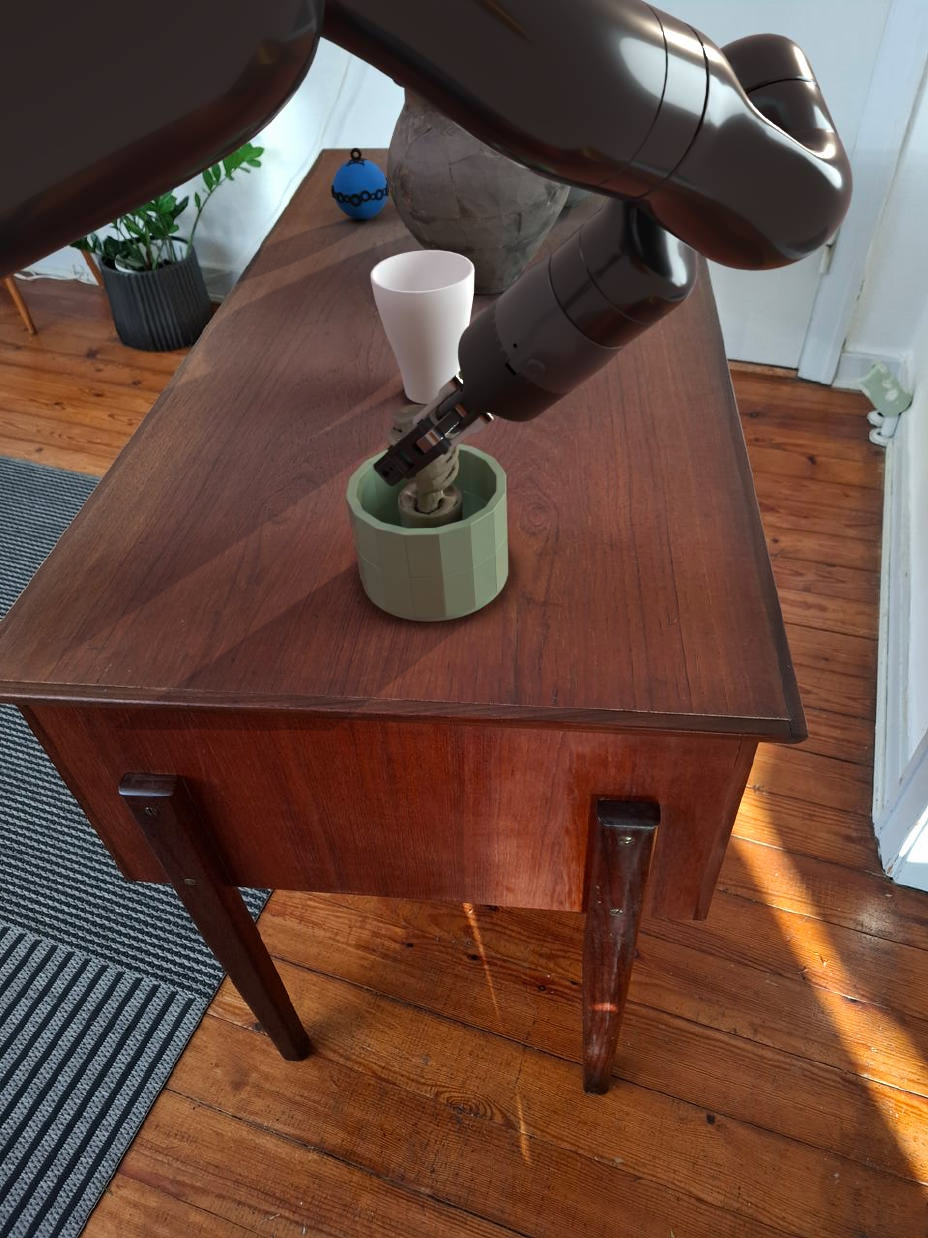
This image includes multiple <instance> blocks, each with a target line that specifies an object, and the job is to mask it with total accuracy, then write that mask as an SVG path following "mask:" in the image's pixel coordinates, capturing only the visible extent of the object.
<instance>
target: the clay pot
mask: <svg viewBox="0 0 928 1238" xmlns="http://www.w3.org/2000/svg"><path fill="white" fill-rule="evenodd" d="M392 81H393V83H394V84H395V85H396V86H398V87H400V88H403V94H404V96H403V97H404V102H403V106H402V109H401V110H400V113H399V115H398V118H397V120H396V123H395V126H394V128H393V132H392V136H391V138H390V142H389V147H388V150H387V158H386V159H387V160H386V178H387V181H388V185H389V194H390V196H391V199H392V202H393V205H394V209H395V210H396V213H397V214H398V217H399V218H400V220H401V222H402V223H403V224H404V226H405V227H406V229H407V230H408V232H409V233H410V234H411V236H412V237H413V238H414V239H415V240H416V241H417V243H418V244H419V245H420V246H421V247H422V248H423V249H424V250H440V251H447V252H452V253H456V254H460V255H462V256H464V257H466V258H468V259H469V260H470V261H471V262H472V264H473V266H474V294H477V295H489V296H490V295H491V296H492V295H496V294H503V293H504V292H505V291H506V290H507V289H508V288H509V287H510V286H511V285H512V284H513V283H514V282H515V281H516V280H517V279H518V278H519V277H520V276H522V275H523V273H524V270H525V268H526V267H527V265H528V264H529V263H531V261H532V260H533V258H534V256H535V255H536V253H537V252H538V250H539V249H540V247H541V246H542V244H543V242H544V241H545V239H546V238H547V236H548V234H549V233H550V232H551V230H552V228H553V226H554V224H556V221H557V219H558V217H559V215H560V214H561V211H562V210H563V206H564V204H565V202H566V199H567V197H568V194H569V191H570V187H571V186H567V185H564V184H560V183H557V182H554V181H551V180H548V179H546V178H543V177H540V176H538V175H536V174H534V173H532V172H530V171H528V170H526V169H523V168H521V167H520V166H518V165H516V164H514V163H512V162H510V161H508V160H506V159H505V158H503V157H501V156H499V155H498V154H496V153H495V152H493V151H491V150H490V149H488V148H487V147H485V146H484V145H482V144H481V143H479V142H478V141H477V140H475V139H474V138H472V137H471V136H469V135H468V134H467V133H465V132H464V131H463V130H462V129H460V128H459V127H458V126H456V125H455V124H454V123H452V122H451V121H450V120H448V119H447V118H446V117H444V116H443V115H441V114H440V113H439V112H437V111H436V110H435V109H433V108H432V107H430V106H429V105H428V104H426V103H425V102H423V101H422V100H421V99H419V98H418V97H417V96H415V95H414V94H412V93H411V92H410V91H408V90H407V89H406V88H404V87H403V86H401V85H400V84H398V83H397V82H395V81H394V80H392Z"/></svg>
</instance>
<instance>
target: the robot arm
mask: <svg viewBox="0 0 928 1238" xmlns="http://www.w3.org/2000/svg"><path fill="white" fill-rule="evenodd" d="M321 38H322V39H324V40H326V41H328V42H330V43H332V44H334V45H336V46H337V47H339V48H341V49H343V50H344V51H346V52H348V53H349V54H351V55H353V56H354V57H356V58H358V59H359V60H361V61H363V62H365V63H367V64H368V65H370V66H372V67H373V68H374V69H376V70H377V71H379V72H380V73H382V74H383V75H385V76H387V78H389V79H391V80H392V81H393V80H394V81H395V82H397V83H398V84H400V85H401V86H403V87H404V88H406V89H407V90H408V91H410V92H411V93H412V94H414V95H415V96H417V97H418V98H419V99H421V100H422V101H423V102H425V103H426V104H428V105H429V106H430V107H432V108H433V109H435V110H436V111H437V112H439V113H440V114H441V115H443V116H444V117H446V118H447V119H448V120H450V121H451V122H452V123H454V124H455V125H456V126H458V127H459V128H460V129H462V130H463V131H464V132H465V133H467V134H468V135H469V136H471V137H472V138H474V139H475V140H477V141H478V142H479V143H481V144H482V145H484V146H485V147H487V148H488V149H490V150H491V151H493V152H495V153H496V154H498V155H499V156H501V157H503V158H505V159H506V160H508V161H510V162H512V163H514V164H516V165H518V166H520V167H521V168H523V169H526V170H528V171H530V172H532V173H534V174H536V175H538V176H540V177H543V178H546V179H548V180H551V181H554V182H557V183H560V184H564V185H567V186H571V187H574V188H578V189H581V190H585V191H588V192H592V194H596V195H599V196H602V197H606V198H605V200H604V202H603V203H602V205H601V206H600V207H599V208H598V209H597V210H595V212H593V214H591V216H589V217H588V218H587V219H586V220H585V221H584V222H583V223H582V224H580V226H579V227H577V228H576V229H575V230H574V231H573V232H572V233H571V234H570V235H569V236H568V237H567V238H565V240H563V242H561V243H560V245H558V247H556V248H555V249H553V251H551V252H550V253H549V254H547V255H546V256H545V257H543V258H542V259H540V260H539V261H537V262H536V263H535V264H533V265H532V266H530V267H529V268H527V270H525V272H523V273H522V274H521V275H520V277H519V278H518V279H517V280H516V281H515V282H514V283H513V284H512V285H511V286H510V287H509V288H508V289H507V290H506V291H505V292H503V293H501V294H500V295H499V296H498V297H497V298H496V299H495V300H494V301H493V302H491V303H490V305H488V306H487V307H486V309H485V310H483V311H482V313H480V314H479V315H478V316H477V317H476V318H475V319H474V320H473V321H472V322H471V323H469V326H468V327H467V328H466V329H465V330H464V332H463V333H462V335H461V338H460V341H459V345H458V361H459V367H460V371H459V376H458V375H457V374H456V375H455V376H454V377H453V378H452V379H450V380H449V381H448V382H447V383H446V384H445V385H444V386H443V387H442V388H441V389H440V390H439V393H438V396H437V397H436V398H435V399H434V400H433V401H432V402H430V403H429V404H426V405H427V406H426V407H425V408H424V409H423V410H422V411H420V412H419V413H418V414H417V415H416V416H415V417H414V419H413V428H412V429H411V430H410V431H409V432H408V433H407V434H405V435H404V436H403V437H402V436H400V437H399V438H398V439H397V440H396V441H397V443H395V444H394V446H393V445H391V446H388V447H387V448H386V450H388V451H387V452H386V453H385V454H384V455H383V456H382V457H381V458H380V459H379V460H378V461H377V462H376V463H375V464H374V470H375V471H376V472H377V473H378V474H379V476H380V477H381V478H382V479H383V480H384V481H385V482H386V483H387V484H388V485H389V486H395V485H396V484H397V483H398V482H400V481H401V480H402V479H403V478H404V477H405V478H406V479H407V480H409V479H410V478H411V477H412V478H414V477H415V476H416V475H417V474H418V472H419V471H421V470H422V469H423V468H425V467H426V466H427V465H429V464H430V463H431V462H433V461H434V460H435V459H437V458H438V457H439V456H441V455H446V454H448V453H449V452H450V451H451V450H452V449H454V448H455V447H456V446H457V445H458V444H462V442H463V441H464V440H465V439H466V438H468V437H469V436H471V435H476V434H478V433H480V432H481V431H482V430H483V429H484V428H486V427H487V426H488V425H489V424H490V423H491V422H492V421H493V420H494V419H495V417H494V416H496V417H499V418H500V419H503V420H506V421H509V422H513V423H525V422H530V421H533V420H534V419H536V418H538V417H539V416H540V415H542V414H543V413H544V412H547V410H548V409H550V408H551V407H552V406H554V405H555V404H557V403H558V402H560V400H562V399H563V398H565V397H567V396H568V395H569V394H570V393H571V392H572V391H574V390H575V389H576V388H578V387H580V386H581V385H582V384H584V383H585V382H586V381H587V380H589V379H590V378H592V377H593V376H594V375H596V374H598V372H600V371H601V370H602V369H603V368H605V366H607V365H608V364H609V363H610V362H611V361H612V360H613V359H614V358H615V357H616V356H617V355H618V354H619V353H620V352H621V351H622V350H623V349H624V348H625V347H627V346H628V345H629V344H630V343H632V342H633V341H634V340H636V339H637V338H639V336H641V335H643V334H644V333H645V332H646V331H648V330H649V329H650V328H652V327H653V326H654V325H656V324H657V323H658V322H660V321H661V320H663V319H664V318H665V317H666V316H668V315H669V314H670V313H672V312H673V311H674V310H676V309H677V308H678V307H680V306H681V305H682V304H683V303H684V302H685V301H686V299H687V298H688V297H689V296H690V295H691V294H692V292H693V290H694V288H695V286H696V282H697V279H698V254H699V255H700V256H702V257H704V258H706V259H707V260H709V261H711V262H714V263H715V264H718V265H720V266H722V267H723V266H724V267H726V268H730V269H734V270H740V271H748V272H749V271H750V272H758V271H759V272H765V271H771V270H777V269H781V268H785V267H788V266H791V265H794V264H796V263H798V262H801V261H802V260H805V259H807V258H808V257H810V256H811V255H813V254H815V253H816V252H818V251H819V250H820V249H821V248H823V246H825V244H826V243H828V241H830V240H831V238H833V236H834V235H835V234H836V233H837V231H838V230H839V228H840V227H841V225H842V223H843V222H844V220H845V218H846V216H847V213H848V211H849V209H850V205H851V202H852V197H853V193H854V181H853V173H852V167H851V163H850V159H849V158H848V155H847V152H846V150H845V147H844V145H843V142H842V139H841V138H840V135H839V132H838V130H837V127H836V124H835V122H834V121H833V117H832V115H831V112H830V110H829V108H828V105H827V102H826V100H825V98H824V96H823V93H822V91H821V88H820V85H819V82H818V80H817V77H816V75H815V72H814V69H813V67H812V66H811V63H810V61H809V59H808V57H807V55H806V54H805V52H804V51H803V49H802V48H801V47H800V46H799V45H798V44H797V42H795V41H793V40H792V39H791V38H789V37H787V36H785V35H781V34H776V33H771V32H769V33H768V32H767V33H766V32H764V33H756V34H751V35H747V36H744V37H741V38H739V39H736V40H733V41H731V42H729V43H727V44H725V45H723V46H722V47H719V46H718V45H717V44H716V43H715V42H714V41H713V40H712V39H710V37H708V36H707V35H706V34H705V33H704V32H702V31H700V30H699V29H697V28H695V27H694V26H692V25H690V24H689V23H687V22H685V21H683V20H681V19H679V18H678V17H675V16H674V15H671V14H669V13H668V12H666V11H663V10H661V9H659V8H658V7H655V6H654V5H652V4H650V3H648V2H646V1H644V0H0V284H1V283H3V282H4V281H6V280H7V279H9V278H11V277H13V276H15V275H16V274H18V273H20V272H21V271H23V270H25V269H27V268H29V267H30V266H32V265H34V264H36V263H39V262H40V261H42V260H43V259H45V258H48V257H49V256H51V255H53V254H55V253H57V252H58V251H61V250H62V249H64V248H66V247H69V246H70V245H71V244H73V243H76V242H77V241H79V240H82V239H83V238H85V237H87V236H88V235H89V236H90V235H91V234H93V233H94V232H97V231H99V230H101V229H103V228H104V227H106V226H108V225H109V224H111V223H113V222H115V221H117V220H119V219H121V218H123V217H125V216H127V215H129V214H130V213H132V212H135V211H137V210H139V209H141V208H142V207H144V206H146V205H147V204H150V203H151V202H153V201H155V200H156V199H158V198H160V197H162V196H164V195H166V194H168V193H170V192H172V191H174V190H175V189H177V188H179V187H181V186H183V185H185V184H186V183H188V182H190V181H191V180H193V179H195V178H196V177H198V176H199V175H201V174H203V173H204V172H205V171H208V170H210V169H211V168H213V167H214V166H215V165H217V164H219V163H220V162H223V161H224V160H225V159H227V158H229V157H230V156H232V155H233V154H234V153H235V152H237V151H238V150H240V149H241V148H243V147H244V146H245V145H247V144H248V143H249V142H251V141H252V140H253V139H254V138H256V137H257V136H258V135H259V134H260V133H261V132H262V131H263V130H264V129H265V128H267V127H268V126H269V125H270V124H271V123H272V122H273V121H274V120H275V119H276V117H278V115H279V114H280V113H281V112H282V111H283V109H284V108H285V107H286V106H287V105H288V103H290V102H291V100H292V99H293V97H294V96H295V95H296V93H297V92H298V91H299V89H300V87H301V86H302V84H303V83H304V81H305V79H306V78H307V76H308V74H309V72H310V69H311V68H312V66H313V63H314V61H315V58H316V55H317V52H318V48H319V44H320V41H321ZM404 88H403V89H404ZM436 407H437V410H436V411H435V412H434V413H435V416H436V419H437V420H438V423H437V424H434V423H433V422H432V421H431V419H430V413H431V412H432V411H433V410H434V409H435V408H436ZM448 432H449V433H451V434H455V433H458V432H459V433H458V434H457V435H456V436H455V437H454V438H451V439H449V438H446V437H445V435H446V434H447V433H448Z"/></svg>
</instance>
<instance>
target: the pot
mask: <svg viewBox="0 0 928 1238" xmlns="http://www.w3.org/2000/svg"><path fill="white" fill-rule="evenodd" d="M458 445H459V454H458V463H459V468H458V473H457V475H456V477H455V479H454V480H453V482H452V483H453V484H454V485H456V486H457V487H458V488H459V490H460V491H461V494H462V502H463V510H462V515H463V518H462V521H459V522H455V523H452V524H448V525H445V526H441V527H437V528H414V529H408V528H403V527H402V524H401V520H400V515H399V508H398V496H399V493H400V492H401V491H402V490H403V489H404V488H405V487H406V486H407V485H408V484H410V483H409V482H404V481H400V482H398V483H397V484H396V485H395V486H389V485H388V484H387V483H386V482H385V481H384V480H383V479H382V478H381V477H380V476H379V474H378V473H377V472H376V471H375V470H374V464H375V463H376V462H377V461H378V460H379V459H380V458H381V457H382V456H383V455H384V454H385V453H386V452H387V451H388V450H387V449H385V450H383V451H381V452H380V453H378V454H376V455H374V456H372V457H370V458H369V459H366V460H365V461H363V463H362V464H361V465H360V466H359V467H358V468H357V469H356V470H355V471H354V473H352V475H350V477H349V479H348V483H347V484H348V485H347V490H346V493H345V500H346V505H347V511H348V512H347V513H348V517H349V522H350V528H351V534H352V539H353V545H354V551H355V557H356V561H357V567H358V574H359V579H360V580H361V583H362V587H363V590H364V591H365V594H366V595H367V597H368V598H369V599H370V600H371V602H372V603H373V604H374V605H376V606H377V607H378V608H380V609H381V610H383V611H384V612H386V613H388V614H389V615H392V616H395V617H398V618H401V619H404V620H408V621H415V622H427V623H428V622H442V621H443V622H445V621H450V620H454V619H458V618H462V617H464V616H467V615H470V614H472V613H475V612H476V611H479V610H480V609H482V608H484V607H485V606H487V605H488V604H489V603H491V602H492V601H493V600H494V599H495V598H496V597H497V596H498V595H499V594H500V592H501V591H502V590H503V588H504V586H505V584H506V583H507V579H508V576H509V538H508V537H509V535H508V534H509V533H508V499H507V498H508V497H507V496H508V495H507V493H508V492H507V473H506V472H505V471H504V469H503V468H502V466H501V465H500V464H499V462H498V461H497V460H496V459H495V457H493V456H492V455H490V454H488V453H486V452H484V451H482V450H481V449H478V448H476V447H475V446H472V445H467V444H462V443H460V444H458Z"/></svg>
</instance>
